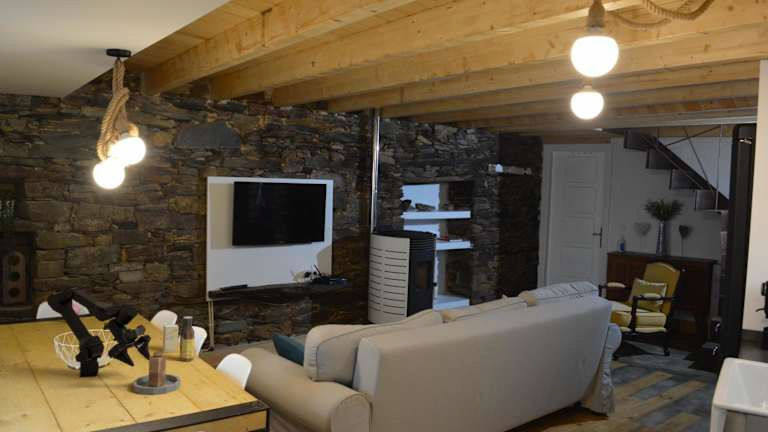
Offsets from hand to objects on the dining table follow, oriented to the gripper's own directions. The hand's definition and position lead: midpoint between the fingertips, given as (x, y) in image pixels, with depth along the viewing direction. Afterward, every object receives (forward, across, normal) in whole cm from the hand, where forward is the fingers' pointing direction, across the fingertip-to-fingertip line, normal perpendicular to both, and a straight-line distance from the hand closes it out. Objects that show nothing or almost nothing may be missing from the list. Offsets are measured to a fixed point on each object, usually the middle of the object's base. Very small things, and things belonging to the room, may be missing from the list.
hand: (141, 362), depth 236 cm
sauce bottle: (+4, +34, +9) cm, 35 cm away
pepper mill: (+11, 0, 0) cm, 11 cm away
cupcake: (-64, +62, +77) cm, 118 cm away
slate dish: (+11, 0, +1) cm, 11 cm away
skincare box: (-7, +42, +20) cm, 48 cm away
